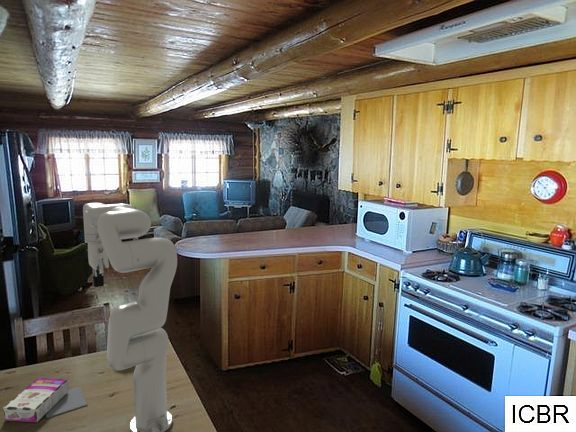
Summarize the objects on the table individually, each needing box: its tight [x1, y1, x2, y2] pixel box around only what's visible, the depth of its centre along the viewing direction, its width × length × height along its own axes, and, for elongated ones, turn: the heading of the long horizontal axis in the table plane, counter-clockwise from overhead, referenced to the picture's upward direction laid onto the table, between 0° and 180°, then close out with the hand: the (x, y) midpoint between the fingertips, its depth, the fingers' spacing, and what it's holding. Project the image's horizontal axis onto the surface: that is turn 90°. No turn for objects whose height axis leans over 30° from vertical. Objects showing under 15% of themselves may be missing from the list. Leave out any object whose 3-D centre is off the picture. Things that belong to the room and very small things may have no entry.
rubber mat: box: [44, 386, 88, 419], centre depth 141 cm, size 13×12×1 cm
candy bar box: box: [2, 377, 70, 423], centre depth 138 cm, size 11×5×16 cm
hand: (98, 285), depth 153 cm, fingers closed
